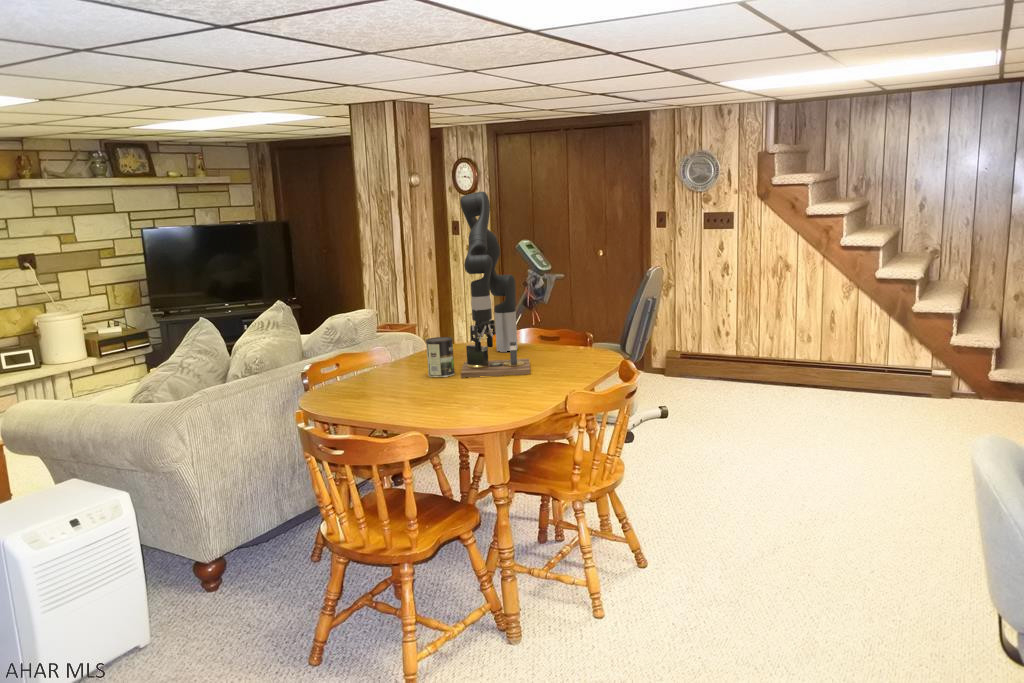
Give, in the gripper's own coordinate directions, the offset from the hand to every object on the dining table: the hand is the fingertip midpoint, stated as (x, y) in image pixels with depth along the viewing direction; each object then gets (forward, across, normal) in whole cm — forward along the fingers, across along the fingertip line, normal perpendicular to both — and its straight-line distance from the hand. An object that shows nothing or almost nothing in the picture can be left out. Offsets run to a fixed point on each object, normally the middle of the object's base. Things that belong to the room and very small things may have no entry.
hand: (484, 349), depth 312 cm
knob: (+7, -6, +9) cm, 13 cm away
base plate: (+9, -3, +3) cm, 10 cm away
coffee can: (+9, +10, -14) cm, 19 cm away
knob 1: (+7, 0, -3) cm, 8 cm away
